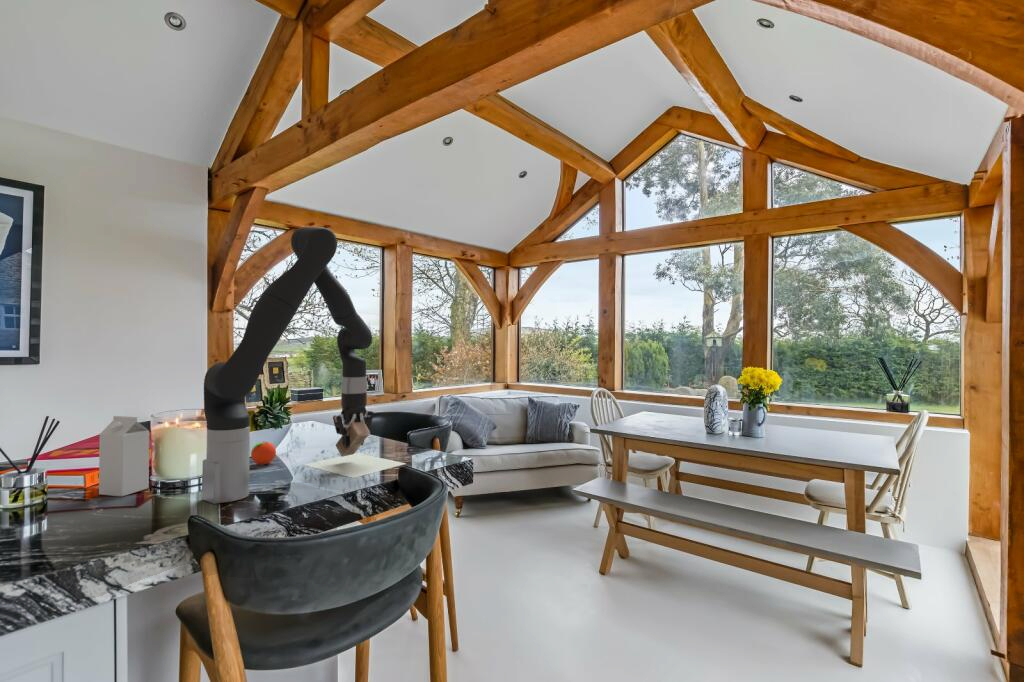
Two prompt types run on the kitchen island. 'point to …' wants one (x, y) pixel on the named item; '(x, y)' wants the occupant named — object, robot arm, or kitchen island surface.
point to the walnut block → (354, 438)
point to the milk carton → (123, 457)
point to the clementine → (263, 453)
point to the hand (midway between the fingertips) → (353, 446)
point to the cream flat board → (354, 465)
